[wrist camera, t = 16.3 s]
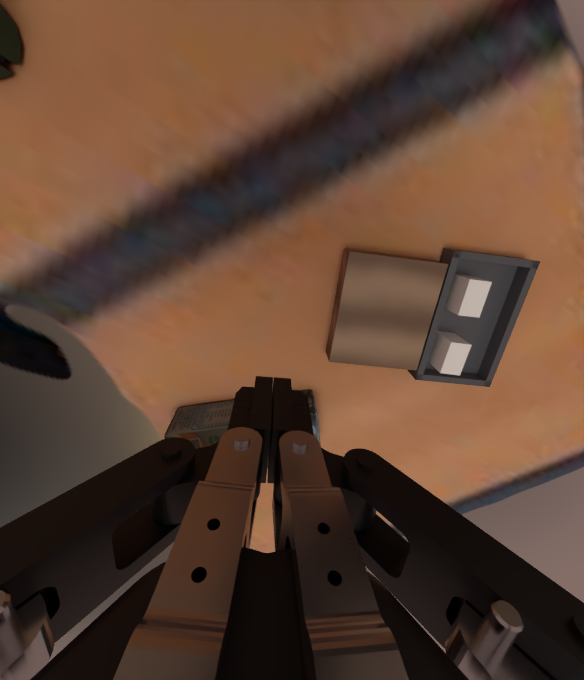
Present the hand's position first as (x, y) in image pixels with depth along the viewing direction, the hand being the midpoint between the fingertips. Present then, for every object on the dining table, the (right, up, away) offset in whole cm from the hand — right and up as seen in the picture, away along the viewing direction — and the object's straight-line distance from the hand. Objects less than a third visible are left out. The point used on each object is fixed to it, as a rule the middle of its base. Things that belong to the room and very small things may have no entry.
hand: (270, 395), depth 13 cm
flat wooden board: (+12, +6, +25) cm, 28 cm away
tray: (+23, +5, +26) cm, 35 cm away
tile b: (+19, +1, +25) cm, 31 cm away
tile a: (+19, +8, +22) cm, 30 cm away
